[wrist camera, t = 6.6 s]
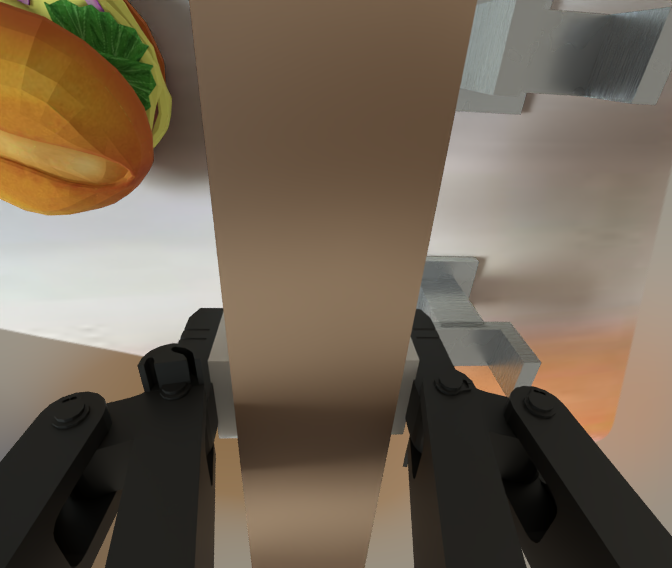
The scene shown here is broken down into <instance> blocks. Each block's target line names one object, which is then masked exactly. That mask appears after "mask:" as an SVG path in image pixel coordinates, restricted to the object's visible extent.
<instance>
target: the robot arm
mask: <svg viewBox="0 0 672 568" xmlns="http://www.w3.org/2000/svg"><path fill="white" fill-rule="evenodd" d="M138 369H139V373H140V377H141V380H142V384H143V387H144V391H145V392H144V393H142V394H140V395H137V396H134V397H131V398H127V399H123V400H119V401H115V402H111V403H107V404H106V401H105V399H104V398H103V397H102V396H101V395H99V394H98V393H93V392H79V393H74V394H71V395H68V396H65V397H62V398H60V399H59V400H57V401H55V402H53V403H52V404H50V405H49V406H48V407H47V408H46V409H44V410H43V411H42V412H41V413H40V414H39V416H38V417H37V418H36V419H35V420H34V422H33V423H32V424H31V425H30V426H29V428H28V429H27V430H26V431H25V433H24V434H23V435H22V436H21V437H20V439H19V440H18V441H17V442H16V443H15V445H14V446H13V447H12V448H11V450H10V451H9V452H8V453H7V454H6V456H5V457H4V458H3V459H2V461H1V462H0V568H91V567H92V565H93V563H94V560H95V558H96V556H97V554H98V552H99V550H100V548H101V546H102V544H103V541H104V539H105V537H106V535H107V533H108V531H109V528H110V526H111V524H112V522H113V520H114V518H115V516H116V514H117V517H116V522H115V526H114V530H113V535H112V539H111V544H110V548H109V552H108V557H107V561H106V565H105V568H214V521H215V463H216V454H215V447H214V439H215V435H216V431H217V427H218V434H219V438H238V437H237V428H236V419H235V410H234V401H233V392H232V383H231V374H230V365H229V356H228V347H227V338H226V329H225V320H224V311H223V308H200V309H199V310H198V311H196V312H195V313H194V314H193V315H192V316H191V317H189V320H188V322H187V324H186V326H185V330H184V331H183V333H182V335H181V339H180V340H179V342H178V343H172V344H168V345H163V346H160V347H158V348H156V349H153V350H151V351H150V352H148V353H147V354H146V355H145V356H144V357H142V359H141V361H140V362H139V364H138ZM406 422H407V426H408V430H409V433H410V437H409V442H408V445H407V450H406V454H405V458H404V464H403V466H404V467H407V465H408V471H409V486H410V503H411V520H412V537H413V552H414V553H413V554H414V568H527V567H526V564H525V560H524V557H523V553H524V555H525V557H526V559H527V561H528V563H529V565H530V567H531V568H672V536H671V535H670V534H669V532H668V531H667V530H666V529H665V528H664V526H663V525H662V524H661V523H660V521H659V520H658V519H657V518H656V516H655V515H654V514H653V513H652V512H651V510H650V509H649V508H648V507H647V505H646V504H645V503H644V502H643V501H642V499H641V498H640V497H639V496H638V494H637V493H636V492H635V491H634V490H633V488H632V487H631V486H630V485H629V484H628V482H627V481H626V480H625V479H624V477H623V476H622V475H621V474H620V472H619V471H618V470H617V469H616V468H615V466H614V465H613V464H612V463H611V461H610V460H609V459H608V458H607V457H606V455H605V454H604V453H603V452H602V451H601V449H600V448H599V447H598V446H597V444H596V443H595V442H594V441H593V439H592V438H591V437H590V436H589V435H588V433H587V432H586V431H585V430H584V428H583V427H582V426H581V425H580V424H579V422H578V421H577V420H576V419H575V417H574V416H573V415H572V414H571V413H570V411H569V410H568V409H567V408H566V406H565V405H564V404H563V403H562V402H561V401H560V400H559V399H558V398H556V397H555V396H554V395H552V394H550V393H549V392H547V391H545V390H542V389H540V388H537V387H533V386H521V387H517V388H515V389H514V390H513V391H512V392H511V393H510V396H509V397H505V396H501V395H497V394H492V393H488V392H485V391H482V390H479V389H477V388H476V387H475V386H474V384H473V382H472V380H470V379H469V378H468V377H467V376H466V375H465V374H463V373H461V372H459V371H457V370H455V368H454V366H453V363H452V361H451V359H450V357H449V355H448V353H447V351H446V349H445V347H444V345H443V343H442V341H441V339H440V336H439V334H438V332H437V331H436V328H435V326H434V324H433V322H432V320H431V318H430V317H429V316H428V315H427V314H426V313H424V312H423V311H422V310H421V309H416V311H415V316H414V321H413V326H412V331H411V336H410V341H409V346H408V351H407V356H406V362H405V367H404V372H403V377H402V382H401V387H400V392H399V397H398V402H397V407H396V412H395V417H394V422H393V427H392V432H391V434H403V432H404V428H405V423H406ZM117 512H118V513H117ZM521 549H522V550H521ZM522 551H523V553H522Z"/></svg>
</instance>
